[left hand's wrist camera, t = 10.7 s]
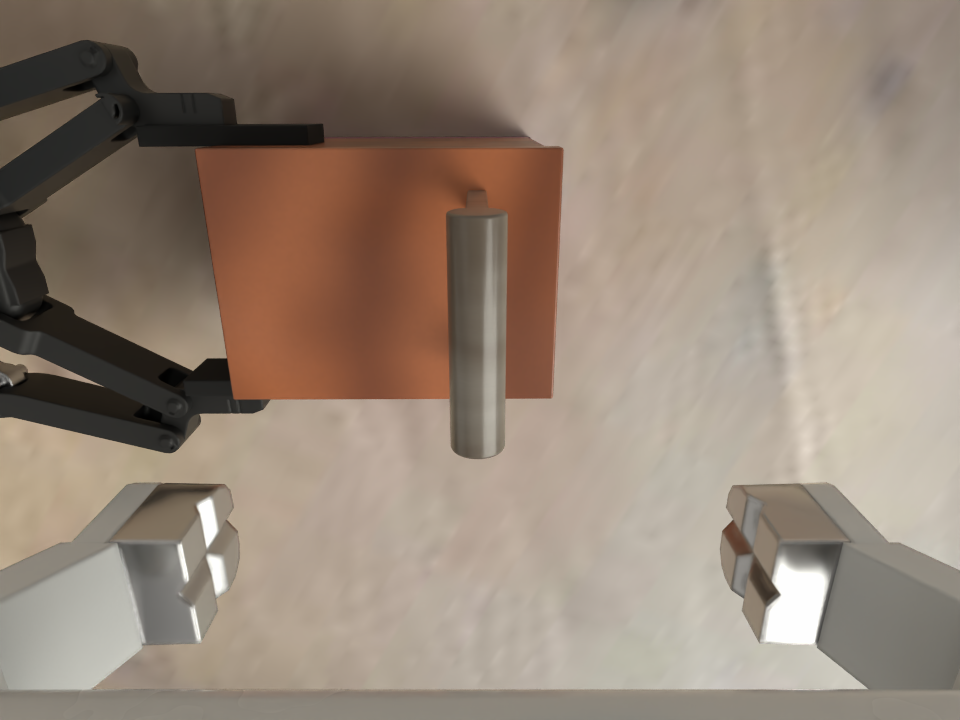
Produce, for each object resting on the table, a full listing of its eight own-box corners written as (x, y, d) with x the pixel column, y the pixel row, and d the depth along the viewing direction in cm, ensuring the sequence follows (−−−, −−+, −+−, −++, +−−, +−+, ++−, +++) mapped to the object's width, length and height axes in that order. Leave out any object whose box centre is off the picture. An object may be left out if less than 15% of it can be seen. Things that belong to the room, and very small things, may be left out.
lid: (560, 145, 24) (600, 162, 16) (550, 388, 27) (578, 497, 20) (205, 146, 24) (74, 164, 16) (241, 389, 27) (149, 498, 20)
